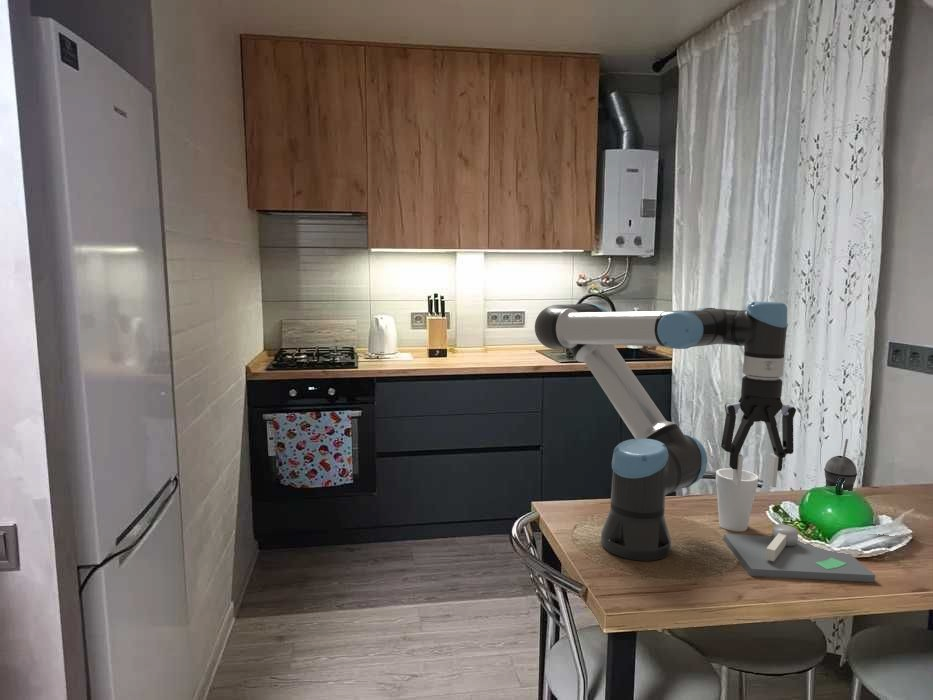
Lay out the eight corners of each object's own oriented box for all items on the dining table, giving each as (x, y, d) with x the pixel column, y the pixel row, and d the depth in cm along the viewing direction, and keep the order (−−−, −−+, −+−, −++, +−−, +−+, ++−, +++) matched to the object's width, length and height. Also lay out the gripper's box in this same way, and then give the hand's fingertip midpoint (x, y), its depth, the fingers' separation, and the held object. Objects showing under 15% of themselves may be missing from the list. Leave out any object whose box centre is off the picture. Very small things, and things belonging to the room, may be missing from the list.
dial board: (750, 575, 126) (751, 568, 125) (723, 539, 143) (723, 533, 142) (874, 582, 124) (875, 574, 124) (831, 545, 141) (832, 538, 140)
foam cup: (742, 537, 144) (747, 483, 142) (705, 525, 151) (708, 473, 149) (760, 526, 150) (764, 475, 149) (723, 515, 157) (727, 465, 155)
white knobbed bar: (775, 534, 141) (776, 522, 141) (799, 540, 138) (800, 528, 138) (756, 556, 130) (757, 544, 130) (782, 564, 127) (783, 551, 126)
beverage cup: (813, 511, 160) (820, 436, 158) (833, 508, 163) (840, 434, 160) (839, 522, 153) (846, 444, 151) (859, 518, 156) (867, 441, 153)
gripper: (719, 378, 124) (712, 488, 127) (820, 381, 123) (810, 492, 126) (708, 372, 132) (701, 476, 135) (802, 375, 130) (793, 480, 133)
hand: (754, 484), depth 130 cm, fingers open, 6 cm apart
